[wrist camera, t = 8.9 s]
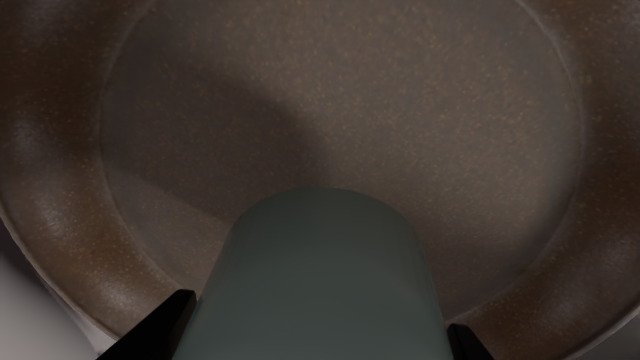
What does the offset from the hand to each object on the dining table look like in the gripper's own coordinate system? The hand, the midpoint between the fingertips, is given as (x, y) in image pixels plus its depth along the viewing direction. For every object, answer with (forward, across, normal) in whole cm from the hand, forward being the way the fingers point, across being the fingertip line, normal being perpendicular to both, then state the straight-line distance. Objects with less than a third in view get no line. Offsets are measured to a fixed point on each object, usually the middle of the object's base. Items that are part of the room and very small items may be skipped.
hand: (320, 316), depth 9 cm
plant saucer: (+6, 0, 0) cm, 6 cm away
